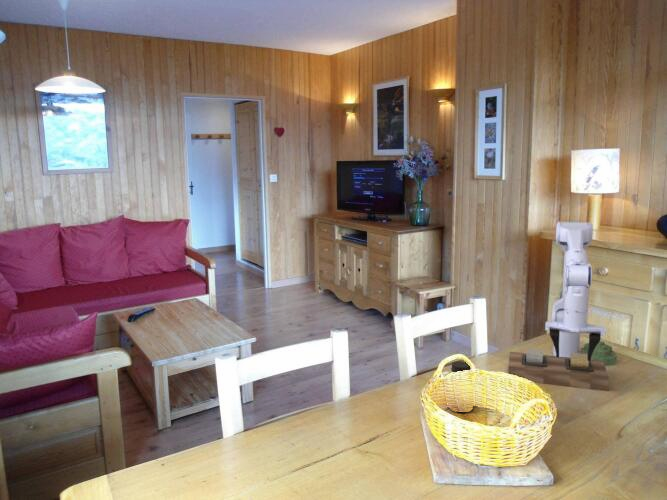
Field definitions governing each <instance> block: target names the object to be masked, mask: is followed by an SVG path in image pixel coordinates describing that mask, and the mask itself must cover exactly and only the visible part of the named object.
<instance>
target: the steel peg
mask: <svg viewBox="0 0 667 500" xmlns="http://www.w3.org/2000/svg"><path fill="white" fill-rule="evenodd" d="M525 349H526V350H525V353H526V362H527V363H537V364H543V355H544V351H543V349H538V348H537V349H535V348H525Z"/></svg>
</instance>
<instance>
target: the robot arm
mask: <svg viewBox="0 0 667 500" xmlns="http://www.w3.org/2000/svg"><path fill="white" fill-rule="evenodd" d="M593 226H594V225H593V223H592V222H591V221H588V222H584V221H583V222H581V221H580V222H579V221H558V222H557V223H556V227H555V244H556V246H557V247H560V248H562V251H563V255H564V256H563V274H562V275H563V276H562V294H561V295H562V297H561V298H559V299H557V300H556V301H554V302H553V303H552V309H551V321H545V327H544V329H545V331H549V336H550V338H551V341H552V343H553V346H552V354H553V355H552V356H556V357H569V358H570V353H580V354H581V351H580V343H581V342H580V341H581V340H580V339H581V334H586V335H587V334H588V343H589V347H588V354H587V359H588V361H591V357H592V354H593V351H594V349H595V347H596V346H597V344H598V343H599V341H601V337H605V336H606V327H605V326H601V325H594V324H589V323H588V313H589V312H588V311H589V295H590V288H591V286H592V283H593V282H592V281H593V269H592V268H593V267H592V265H591V263H589V255H588V252H587V250H585V248H588V247H589V246H590V244H591V242H593V241H592V240H593V234H594V233H593V231H594V229H593Z"/></svg>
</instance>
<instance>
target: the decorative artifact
mask: <svg viewBox="0 0 667 500" xmlns="http://www.w3.org/2000/svg"><path fill="white" fill-rule="evenodd" d="M583 346H584V347H582V348H581V349H580V354H588V347H589V342H587V343H585V344H584V345H583ZM617 356H618V355H617V353H616V352H615V351H614V350H613V346H611V345H609V344H606V343H605V342H604V341H602V340H600V341H599V343H598V344H597V346H596V347H595V349H594V351H593V354H592V357H591V360H600V361H603V362H604V365H605V367H611V366H614V365H616V364H617Z"/></svg>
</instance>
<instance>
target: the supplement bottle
mask: <svg viewBox="0 0 667 500" xmlns="http://www.w3.org/2000/svg"><path fill="white" fill-rule="evenodd" d="M466 362H467V361H464V360H458V361H453V362H452V363H451V368H450V371H451V372H457V371H463V370H470V369H471V370H472V368H470V366H469V365H468V364H467V363H466Z"/></svg>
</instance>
